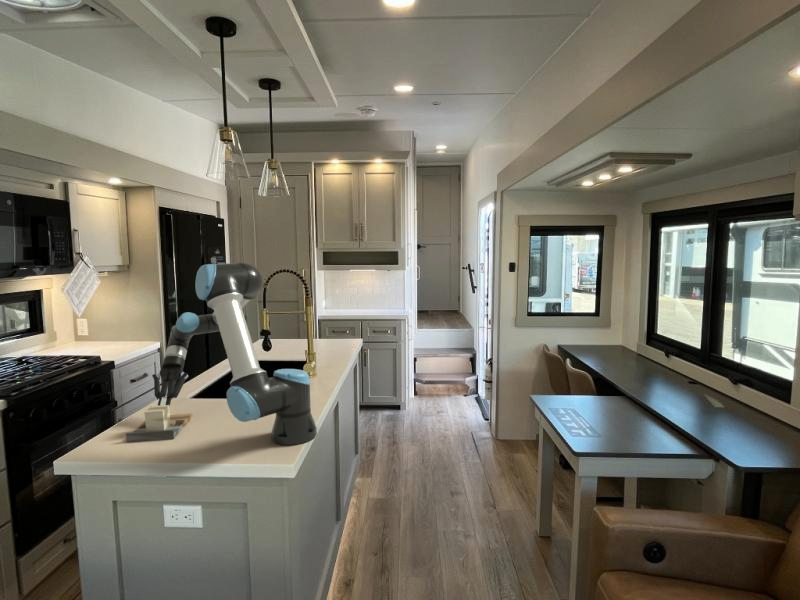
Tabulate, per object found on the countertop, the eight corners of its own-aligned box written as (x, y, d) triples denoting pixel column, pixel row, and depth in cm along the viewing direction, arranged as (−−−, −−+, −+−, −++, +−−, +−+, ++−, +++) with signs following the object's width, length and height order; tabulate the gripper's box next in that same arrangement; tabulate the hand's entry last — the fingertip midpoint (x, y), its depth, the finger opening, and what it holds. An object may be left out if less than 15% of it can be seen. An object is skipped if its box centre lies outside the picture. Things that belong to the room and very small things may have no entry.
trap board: (151, 419, 171) (150, 412, 170) (192, 417, 173) (192, 409, 172) (126, 442, 151) (125, 433, 150) (173, 438, 153) (172, 430, 152)
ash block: (153, 424, 162) (151, 406, 161) (170, 423, 163) (169, 405, 162) (146, 431, 156) (144, 412, 155) (164, 430, 157) (162, 410, 156)
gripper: (194, 363, 181) (183, 418, 167) (160, 365, 180) (146, 420, 165) (189, 353, 176) (177, 409, 161) (153, 355, 174) (138, 411, 159)
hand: (161, 415), depth 163 cm, fingers closed
